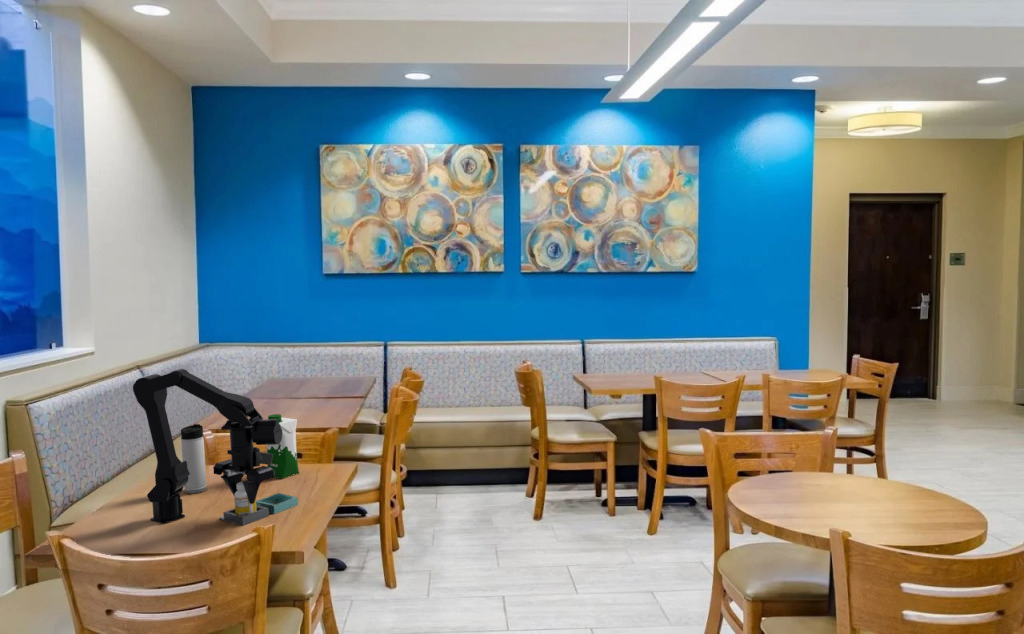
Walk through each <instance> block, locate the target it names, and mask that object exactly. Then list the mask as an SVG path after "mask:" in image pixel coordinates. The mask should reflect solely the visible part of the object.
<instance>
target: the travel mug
mask: <svg viewBox="0 0 1024 634" xmlns="http://www.w3.org/2000/svg"><path fill="white" fill-rule="evenodd" d="M180 436H181V437H180V440H181V441H180V442H181V458H182V462H183V461H186V462H187V468H188V471H189V473H190V475H188V482H187V483H186V485H185V486H184V487H183V488H184V492H185V494H187V493H188V495H194V494H195V493H196V494H201V493H203V491H204V492H206V491H207V489H208V486H207V483H208V482H207V470H206V469H207V467H206V454H205V440H204V428H203V425H201V424H200V423H197V424H196V423H195V424H192V425H188V426H185V427H183V428H181V429H180ZM200 492H201V493H200ZM189 493H190V494H189Z"/></svg>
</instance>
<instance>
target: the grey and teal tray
mask: <svg viewBox="0 0 1024 634" xmlns="http://www.w3.org/2000/svg"><path fill="white" fill-rule="evenodd" d="M298 498H299V497H297V496H292V495H289V494H285V493H280V492H277V493H275V494H272V495H269V496H267V497H263V498H261V499H256V508H257V511H256V512H253V513H250V514H247V515H245V516H241V515H238V514H236V512H235V507H234V508H231V509H229V510H226V511H224V512H223V515H220V516H219V517H218V519H219V520H220V521H221V520H222V521H226V522H228V523H233V524H235V525H240V526H245V525H248V524H251V523H253V522H256V521H259V520H262V519H264V518H267V517H270V514H275V515H276V514H278V513H280V512H282V511H286V510H288V509H291V508H293V507H296V506H299V499H298Z"/></svg>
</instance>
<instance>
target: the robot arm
mask: <svg viewBox="0 0 1024 634" xmlns="http://www.w3.org/2000/svg"><path fill="white" fill-rule="evenodd" d="M174 386H175V387H177V388H180V389H182V391H185V392H187V393H189V394H190V395H192V396H195V397H196V398H198V399H199V400H202V401H204V402H206V403H207V404H210V405H212V406H213V407H214V408H216V409H217V411H218V412H219V414H220V415H222V416H223V417H224V418H225V419H227V421H226V422H225V424H223V425H222V426H221V428H220V429H221V430H222V431H229V439H230V449H227V455H230V459H227V460H223V461H218V462H215V464H214V465H213V474H214V475H217V476H220V478H221V479H222V480H223V481H224V482H225V484H226V486H227V487H228V489H229V490H230V492H231V493H232V495H233V496H234V494H235V492H236V491H238V490H237V483H239V482H243V485H244V488H245V491H246V494H247V497H248V500H249V502H250V504H253V503H254V502H255V499H256V500H257V495H258V491H259V489H260V486H261V484H262V483H263V482H264V481H268V480H270V479H273V478H274V477H275V475H274V469H273V468H271V467H268V465H269V466H271V463H272V458H273V454H269V453H267V452H263V451H261V449H260V448H258V447H257V446H267V445H278V444H280V442H281V440H282V429H281V426H280V424H279V423H278V419H271V420H268V419H264V417H263V416H262V415H261V413H260V412H259V411H258V410H257V408H255V406H254V402H253V400H252V399H251V398H249V397H247V396H245V395H241V394H236V393H232V392H228V391H224V390H222V389H221V388H218V387H217V386H214V385H213V384H211V383H209V382H208V381H205V380H203V379H201V378H200V377H197V376H196V375H194V374H193V373H191V372H189V371H188V370H187V369H184V368H179V369H176V370H172V371H171V372H169V373H166V374H162V375H160V374H157V373H154V374H150V375H147V376H146V375H145V376H144V377H140V378H137V379H136V380H135V381H134V383H133V384H132V392H133V394H134V396H135V400H136V402H137V403H138V404H139V405H140V407H141V408H142V409H143V410H144V411H145V414H146V420H147V424H148V427H149V432H150V437H151V440H152V444H153V448H154V452H155V456H156V461H157V462H156V468H155V473H154V479H155V481H154V482H155V483H154V484H155V486H153V488H152V489H151V490H150V491H149V492H148V493H147V495H146V496H147V499H148V501H149V502H150V503H152V516H153V517H151V518H150V520H149V521H151V522H154V523H158V524H162V525H166V524H169V523H171V522H174V521H176V520H177V521H178V520H179V519H183V518H186V515H185V514H183V512H184V510H183V499H182V498H181V493H183V490H184V488H185V487H184V486H185V485H186V483H187V482H188V475H190V473H189V471H188V468H187V462H186V461H183V460H182V461H181V460H180V459H179V457H178V456H177V453H176V449H175V448H176V447H175V444H174V441H173V436H172V431H171V427H170V424H169V419H168V414H167V411H166V402H167V397H168V388H169V389H170V388H172V387H174ZM254 444H255V445H257V446H254ZM265 465H267V466H265ZM245 475H246V479H245V480H242V479H243V478H244V476H245Z"/></svg>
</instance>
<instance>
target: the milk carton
mask: <svg viewBox="0 0 1024 634" xmlns="http://www.w3.org/2000/svg"><path fill="white" fill-rule="evenodd" d="M271 419H278V423H279V424H280V426H281V429H282V440H281V442H280V444H278V445H266V453H269V454H273V458H272V463H271V466H269V465H267V467H271V468H273V469H274V475H275V477H276V479H279V478H281V479H280V480H283V478H284V479H286V478H285V477H287V478H289V477H288V476H290V477H292V476H294V475H293V474H295V475H297V474H296V473H298V474H300V471H299V470H300V469H299V464H298V462H299V461H298V454H297V436H296V435H297V434H296V431H297V424H298V419H297V418H288V417H282V414H279V413H276V414H275V413H274V414H270V415H268V416H267V420H271ZM291 475H292V476H291Z"/></svg>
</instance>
